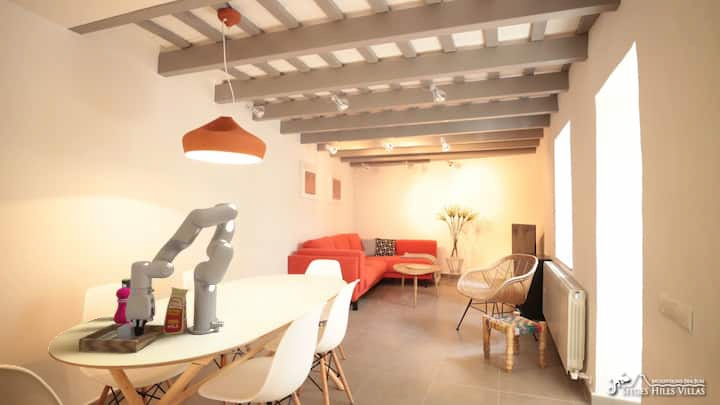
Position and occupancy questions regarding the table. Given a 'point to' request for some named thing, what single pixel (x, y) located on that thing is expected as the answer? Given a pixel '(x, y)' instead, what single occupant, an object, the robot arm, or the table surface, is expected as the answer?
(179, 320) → the paper food bag
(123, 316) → the pepper mill
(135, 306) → the robot arm
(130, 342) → the brown wooden tray
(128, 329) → the block
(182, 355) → the table surface
